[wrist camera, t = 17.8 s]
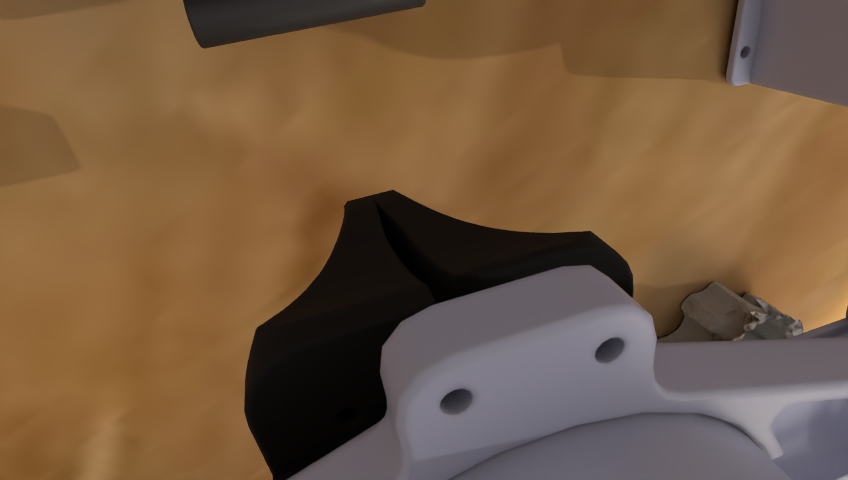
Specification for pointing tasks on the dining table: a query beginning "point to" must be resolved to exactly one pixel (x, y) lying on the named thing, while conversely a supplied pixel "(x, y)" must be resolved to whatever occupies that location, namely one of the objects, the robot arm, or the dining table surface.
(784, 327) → the egg carton
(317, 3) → the drawer
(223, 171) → the dining table surface
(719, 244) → the dining table surface
